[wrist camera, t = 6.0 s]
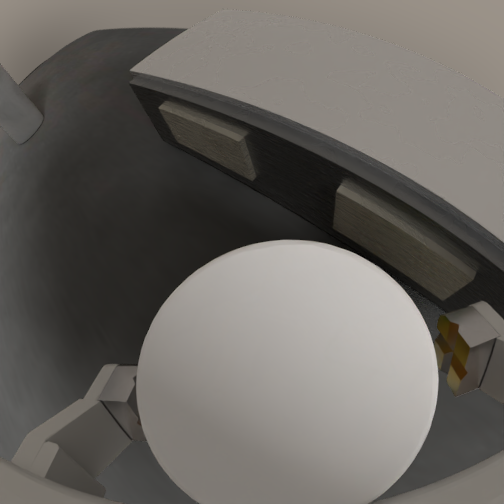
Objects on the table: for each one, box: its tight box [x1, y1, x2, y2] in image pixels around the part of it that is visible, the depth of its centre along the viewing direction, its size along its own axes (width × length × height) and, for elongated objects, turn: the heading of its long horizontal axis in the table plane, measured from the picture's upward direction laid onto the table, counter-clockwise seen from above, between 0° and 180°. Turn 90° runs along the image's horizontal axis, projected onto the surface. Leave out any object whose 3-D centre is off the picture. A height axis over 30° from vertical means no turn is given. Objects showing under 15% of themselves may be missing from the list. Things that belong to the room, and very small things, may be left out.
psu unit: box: [129, 9, 504, 320], centre depth 13 cm, size 22×9×6 cm, turn 51°
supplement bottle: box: [136, 240, 438, 504], centre depth 8 cm, size 5×5×10 cm
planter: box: [0, 64, 43, 144], centre depth 22 cm, size 5×4×10 cm
